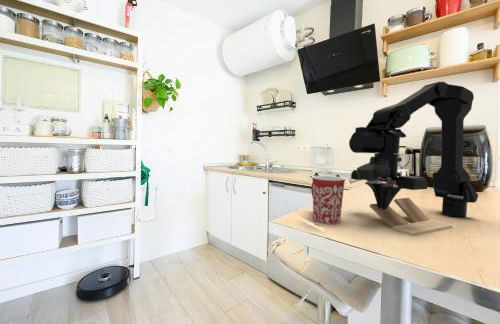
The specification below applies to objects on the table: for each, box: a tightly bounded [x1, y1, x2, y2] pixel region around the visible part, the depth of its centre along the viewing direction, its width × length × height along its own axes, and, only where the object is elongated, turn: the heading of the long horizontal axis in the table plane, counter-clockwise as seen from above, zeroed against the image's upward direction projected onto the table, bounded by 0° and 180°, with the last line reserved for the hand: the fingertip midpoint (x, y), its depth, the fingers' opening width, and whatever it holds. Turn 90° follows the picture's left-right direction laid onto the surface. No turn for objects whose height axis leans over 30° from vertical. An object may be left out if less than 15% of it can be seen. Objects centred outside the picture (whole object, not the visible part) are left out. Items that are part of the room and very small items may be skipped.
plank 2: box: [393, 197, 431, 223], centre depth 63 cm, size 6×8×1 cm
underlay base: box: [392, 219, 454, 237], centre depth 61 cm, size 16×14×2 cm
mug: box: [311, 175, 346, 227], centre depth 64 cm, size 13×9×14 cm
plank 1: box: [369, 202, 409, 229], centre depth 61 cm, size 6×8×1 cm
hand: (382, 208), depth 61 cm, fingers closed
